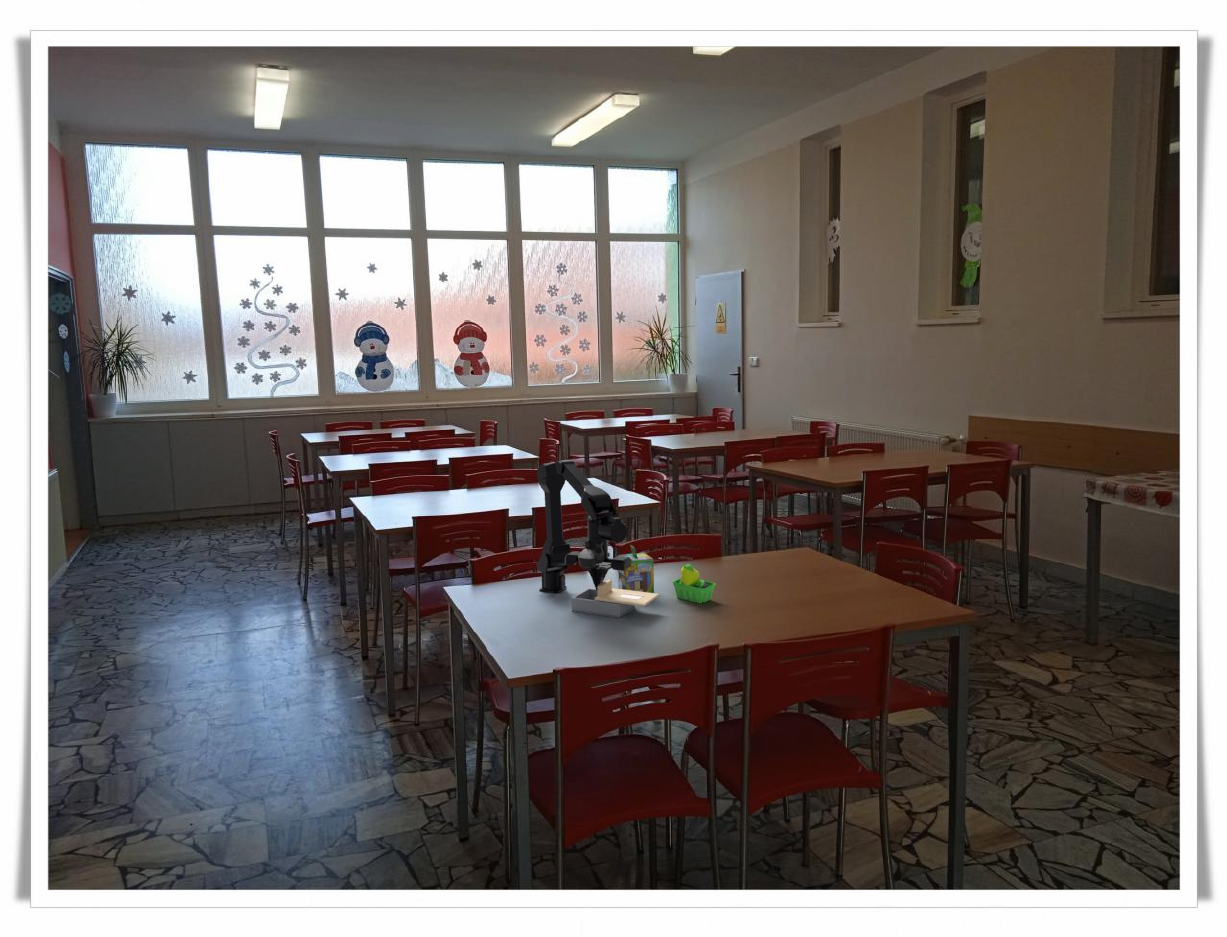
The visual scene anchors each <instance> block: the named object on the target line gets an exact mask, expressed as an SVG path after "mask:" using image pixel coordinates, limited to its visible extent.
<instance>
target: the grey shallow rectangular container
mask: <svg viewBox="0 0 1227 937" xmlns="http://www.w3.org/2000/svg"><path fill="white" fill-rule="evenodd" d="M597 596H598V590H596V588H589V587H588V588H586V589H585V590H583V591H580V592H579V593H578V594H576V595H574V596H572V597H571V612H572V613H580V614H587V615H593V616H594V615H595V616H600V617H601V616H602V617H608V618H615V619H621V618H622V617H624V616H625V615H626V614H628V613H629V612H631V611H632V610H634V609H636V605H629V604H622V603H614V602H606V601H599V600H595V597H597Z"/></svg>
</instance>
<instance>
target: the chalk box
mask: <svg viewBox="0 0 1227 937" xmlns="http://www.w3.org/2000/svg"><path fill="white" fill-rule="evenodd" d="M629 547H630V550H631V553H627V554H626V553H625V554H619V555H617V556H625V557H629V558H630V559H631V567H629V568H627V569H626V570H623V571H621V570H617V572H618V589H623V590H632V591H640V592H648V593H655V577H654V576H655V570H654V567H655V566H654V562H655V561H654V558H653V557H651V556H650V555H649V554H647V553H643V552H641V553H637V552H636V548H635V546H633V545H632V544H630V546H629Z"/></svg>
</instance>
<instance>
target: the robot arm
mask: <svg viewBox="0 0 1227 937" xmlns="http://www.w3.org/2000/svg"><path fill="white" fill-rule="evenodd" d="M536 476H537V481H538V485H539V487H540V488H541V489H542V491H543V493H544V507H545V508H544V510H545V524H546V526H545V527H546V528H545V529H546V540H545V542H544V544H543V546H542V549H541V557H540V558H539V560H538V561H537V562H536V564H535V565H536V569H537V572H540V573H541V587H540V588H539V589H538V590H539V592H547V593H556V594H558V593H560V592H562V591H563V590H565V589H567V588H568V587H567V586H566V575H565V571H567V570H569V566H575V565H576V564H577V563H579V564H578V565H579V567H580V568H582V569H583V570H586V571H587V572H588V573H589V575H590V577H591V579H592V583H593V585H594V589H596V590H598V585H600V584H601V583H603V582H605V581H604V580H605V578H606V576H607V574H608V572H609V570H611V569H612V570H613V571H618V570H621V571H623V570H626V569H627V568H629V567H631V559H630V558H629V557H625V556H618V555H617V556H615V557H614V558H609V557H610V555H611V554H610V552H609V543H610V542H611V543H612V542H613V543H616V544H620V543H622V542H623V541H625V539H626V538H627V535H628V529H627V526H626V525H625V524H624V523H623V522H622V518H621V517H619V514H618V510H617V508H616V507H615V505H614V502H613V500H612V498H611V495H610V494H609V493H608V492H607V491H606V490H604V489H603V488H600V487H598V486H595V485H594V484H593V483H592V482H591V481H590V480H589V479H588V478H587V477H586V475H585V474H584V473H583V472H582V471H581V470H580V469H579V467H578V466H577V465H576V463H575V461H574V460H572V459H564V460H559V461H556V462H549V463H541V464H540V465H539V466H538V467H537V470H536ZM566 482H567V483H568V484H569V486H570V487H572V489H573V490H574V492H576V493H577V495H578V496H579V497H580V505H581V507H582V508H583V509H584V511H585V513H586V514H585V515H584V516H583V519H584V520H587V540H585V543H584V544H585V546H584V549H582V551H576V550H575V551H573V550H572V552H571V545H570V544H569V543H567V542H566V540H565V539H564V531H563V515H562V514H563V513H562V512H563V510H562V498H561V497H562V494H561V492H562V489H563V488H564V487H565V486H564V485H565V483H566Z"/></svg>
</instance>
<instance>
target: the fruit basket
mask: <svg viewBox="0 0 1227 937" xmlns="http://www.w3.org/2000/svg"><path fill="white" fill-rule="evenodd" d="M680 571H681V574H680V578H678V579H674V580H673V581H672V583H673V586H674V590H675V595H676V597H677V598H678V599H681V600H686V601H689V602H694V603H696V602H697V603H696V604H700V603H701V604H703V603H706V602H708V601H711V600H712V596H713V594H714V589H715V587H716V585H717V584H716V583H715V582H711V581H707V580H703V579H699V577H700V572H699V571H698V570H697V569H695V568H694V567H693V566H692V565H691V564H686V565H683V566H682V567H681V569H680ZM702 602H703V603H702Z"/></svg>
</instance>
